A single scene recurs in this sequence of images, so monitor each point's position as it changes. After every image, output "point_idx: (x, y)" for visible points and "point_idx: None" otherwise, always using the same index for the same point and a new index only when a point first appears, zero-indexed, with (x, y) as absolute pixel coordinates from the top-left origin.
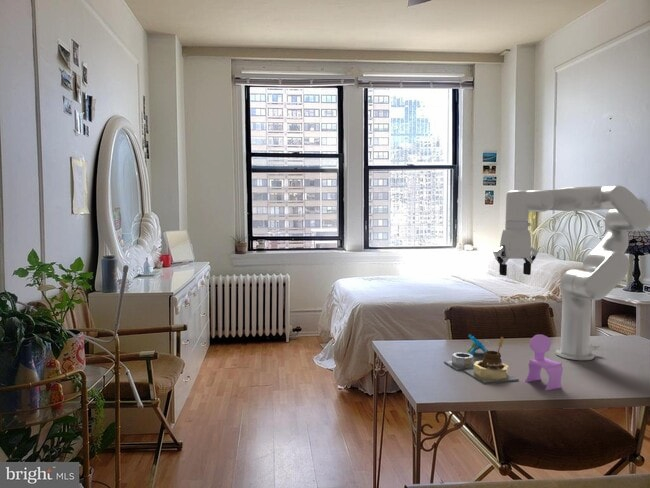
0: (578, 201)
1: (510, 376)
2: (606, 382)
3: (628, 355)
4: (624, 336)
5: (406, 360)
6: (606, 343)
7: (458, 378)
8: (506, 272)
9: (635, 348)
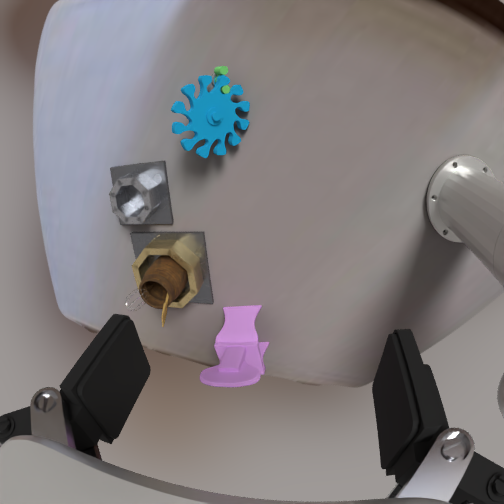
0: None
1: (203, 289)
2: (366, 344)
3: None
4: None
5: (55, 142)
6: None
7: (114, 260)
8: (140, 388)
9: None
